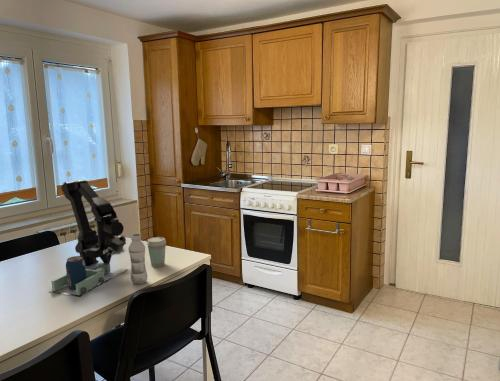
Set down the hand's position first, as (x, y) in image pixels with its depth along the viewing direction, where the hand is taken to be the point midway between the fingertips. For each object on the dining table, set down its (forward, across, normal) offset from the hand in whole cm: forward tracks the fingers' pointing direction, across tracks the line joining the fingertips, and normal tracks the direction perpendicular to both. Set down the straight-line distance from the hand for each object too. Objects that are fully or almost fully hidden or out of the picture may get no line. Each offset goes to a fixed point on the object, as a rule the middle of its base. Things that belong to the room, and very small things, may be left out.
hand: (107, 266), depth 171 cm
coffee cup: (+2, +13, -17) cm, 22 cm away
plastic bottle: (+2, -7, -21) cm, 22 cm away
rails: (+2, -10, 0) cm, 11 cm away
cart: (+2, -13, 0) cm, 13 cm away
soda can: (+2, -18, 0) cm, 18 cm away
